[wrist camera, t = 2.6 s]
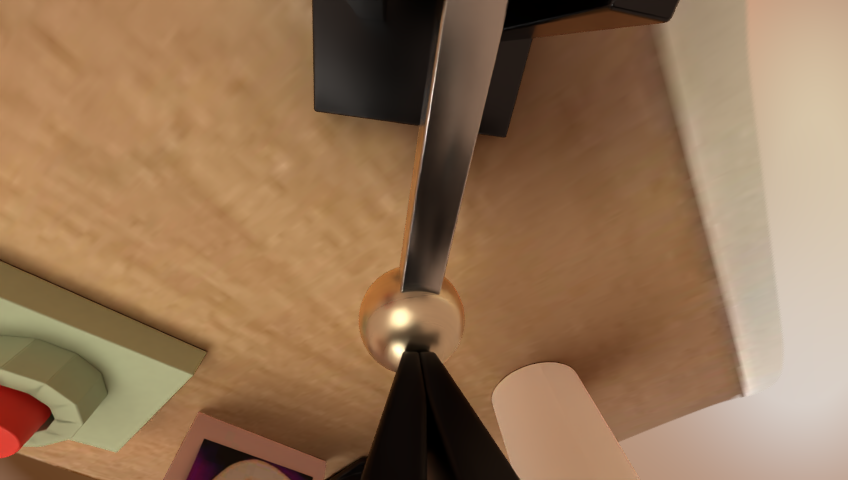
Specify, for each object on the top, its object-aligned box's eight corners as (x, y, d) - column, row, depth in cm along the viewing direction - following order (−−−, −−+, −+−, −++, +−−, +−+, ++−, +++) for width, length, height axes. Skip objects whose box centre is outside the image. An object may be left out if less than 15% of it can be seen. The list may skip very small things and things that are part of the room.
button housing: (134, 427, 22) (95, 484, 19) (-103, 354, 17) (-205, 417, 14) (207, 351, 20) (175, 405, 17) (-49, 238, 14) (-163, 285, 11)
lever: (444, 318, 12) (461, 397, 9) (360, 315, 12) (352, 398, 9) (587, -226, 5) (788, -488, 3) (401, -294, 5) (418, -701, 2)
